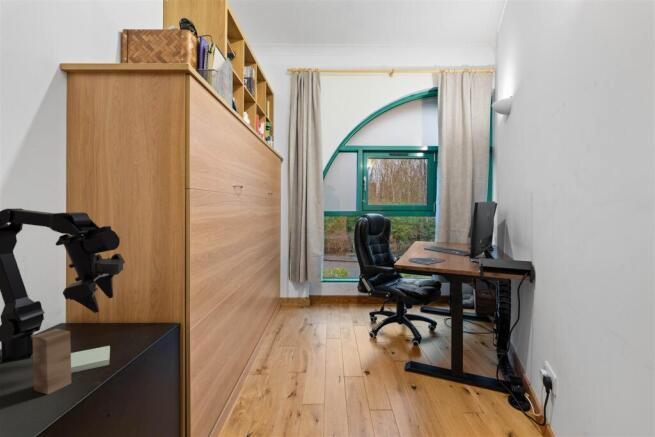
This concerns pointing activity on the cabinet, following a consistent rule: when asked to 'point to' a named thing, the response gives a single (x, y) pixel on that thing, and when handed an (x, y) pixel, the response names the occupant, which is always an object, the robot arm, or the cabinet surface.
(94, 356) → the sage board
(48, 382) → the walnut block
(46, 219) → the robot arm
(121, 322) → the cabinet surface
